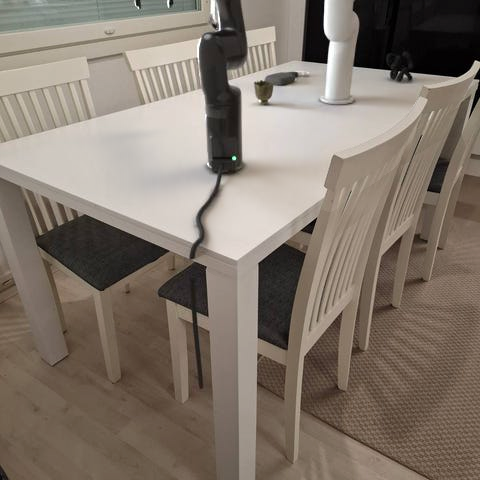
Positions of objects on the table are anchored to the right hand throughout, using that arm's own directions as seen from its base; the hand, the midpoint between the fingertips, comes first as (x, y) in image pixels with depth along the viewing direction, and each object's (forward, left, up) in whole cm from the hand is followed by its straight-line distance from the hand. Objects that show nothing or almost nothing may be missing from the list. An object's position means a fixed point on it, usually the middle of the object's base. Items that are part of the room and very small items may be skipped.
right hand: (225, 40), depth 181 cm
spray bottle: (-24, +21, -19) cm, 38 cm away
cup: (+18, +21, -19) cm, 34 cm away
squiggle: (-35, +70, -19) cm, 81 cm away
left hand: (+58, 0, +16) cm, 60 cm away
